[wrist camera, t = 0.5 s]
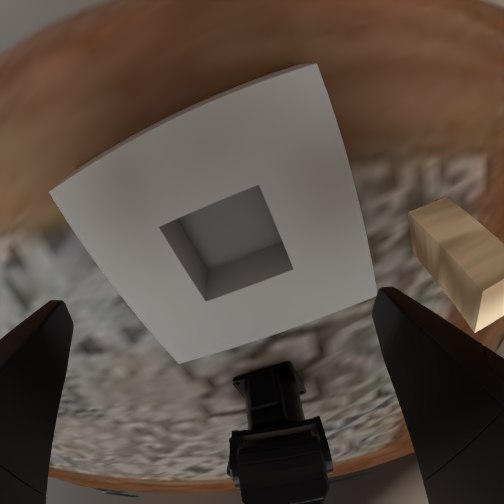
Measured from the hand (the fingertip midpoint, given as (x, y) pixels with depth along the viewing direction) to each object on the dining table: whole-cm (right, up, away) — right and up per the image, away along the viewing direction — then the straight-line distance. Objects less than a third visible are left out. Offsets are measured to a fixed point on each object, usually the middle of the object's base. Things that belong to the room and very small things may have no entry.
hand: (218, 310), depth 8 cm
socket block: (-1, +4, +14) cm, 14 cm away
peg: (+16, +4, +15) cm, 22 cm away
